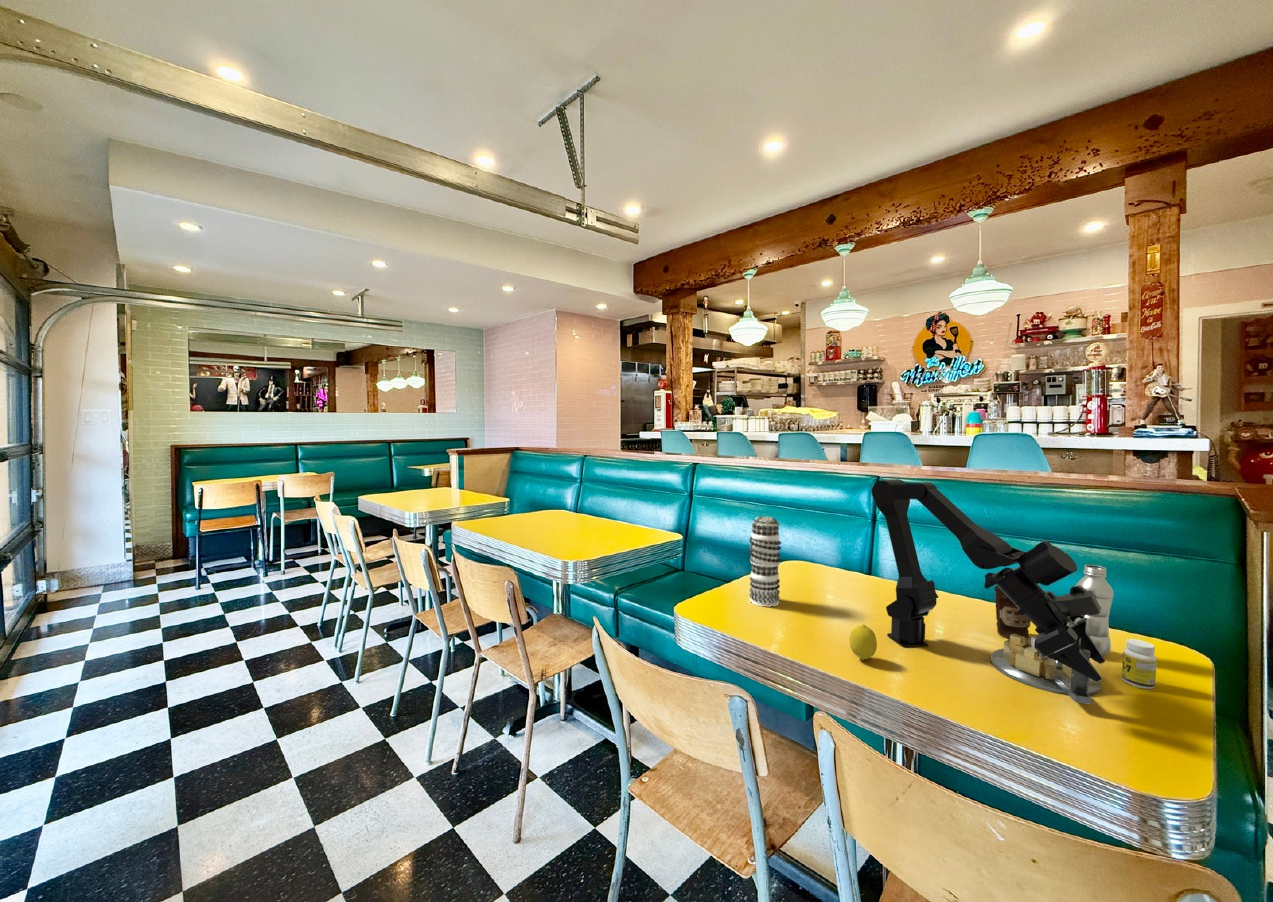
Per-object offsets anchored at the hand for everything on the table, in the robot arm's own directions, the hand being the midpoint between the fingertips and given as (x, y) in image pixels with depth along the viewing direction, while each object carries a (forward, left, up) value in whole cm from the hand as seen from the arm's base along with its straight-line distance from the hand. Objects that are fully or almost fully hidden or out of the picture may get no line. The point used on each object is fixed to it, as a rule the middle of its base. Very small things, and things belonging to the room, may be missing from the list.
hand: (1101, 670), depth 90 cm
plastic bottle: (+21, +21, -8) cm, 31 cm away
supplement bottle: (+17, +8, -8) cm, 20 cm away
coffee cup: (+11, +31, -8) cm, 34 cm away
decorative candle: (-42, +60, -8) cm, 73 cm away
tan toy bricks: (+1, +9, -6) cm, 11 cm away
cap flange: (+2, +14, -7) cm, 16 cm away
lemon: (-33, +23, -8) cm, 40 cm away
